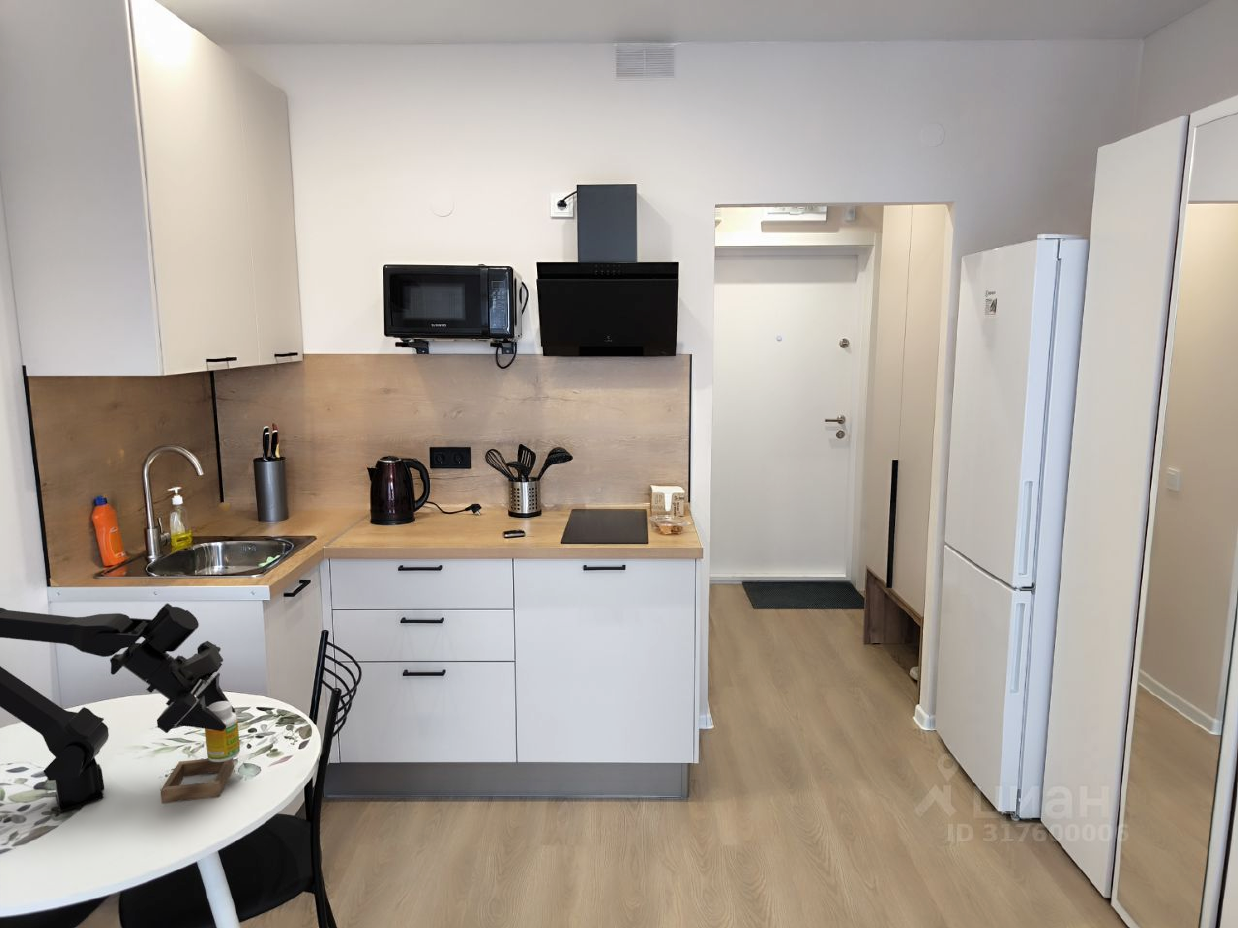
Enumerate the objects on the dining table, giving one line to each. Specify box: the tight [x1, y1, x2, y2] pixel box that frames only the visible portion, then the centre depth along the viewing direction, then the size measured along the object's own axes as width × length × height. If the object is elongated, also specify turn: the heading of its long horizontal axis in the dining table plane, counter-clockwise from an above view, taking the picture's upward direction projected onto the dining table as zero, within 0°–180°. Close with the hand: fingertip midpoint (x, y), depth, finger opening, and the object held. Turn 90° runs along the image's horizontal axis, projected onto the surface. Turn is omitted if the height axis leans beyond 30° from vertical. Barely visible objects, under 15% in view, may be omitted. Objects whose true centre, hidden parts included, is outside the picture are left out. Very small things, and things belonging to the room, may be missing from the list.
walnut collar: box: [160, 758, 235, 804], centre depth 147 cm, size 10×10×2 cm
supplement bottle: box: [204, 700, 241, 762], centre depth 147 cm, size 5×5×10 cm
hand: (229, 721), depth 147 cm, fingers closed on supplement bottle, 5 cm apart
